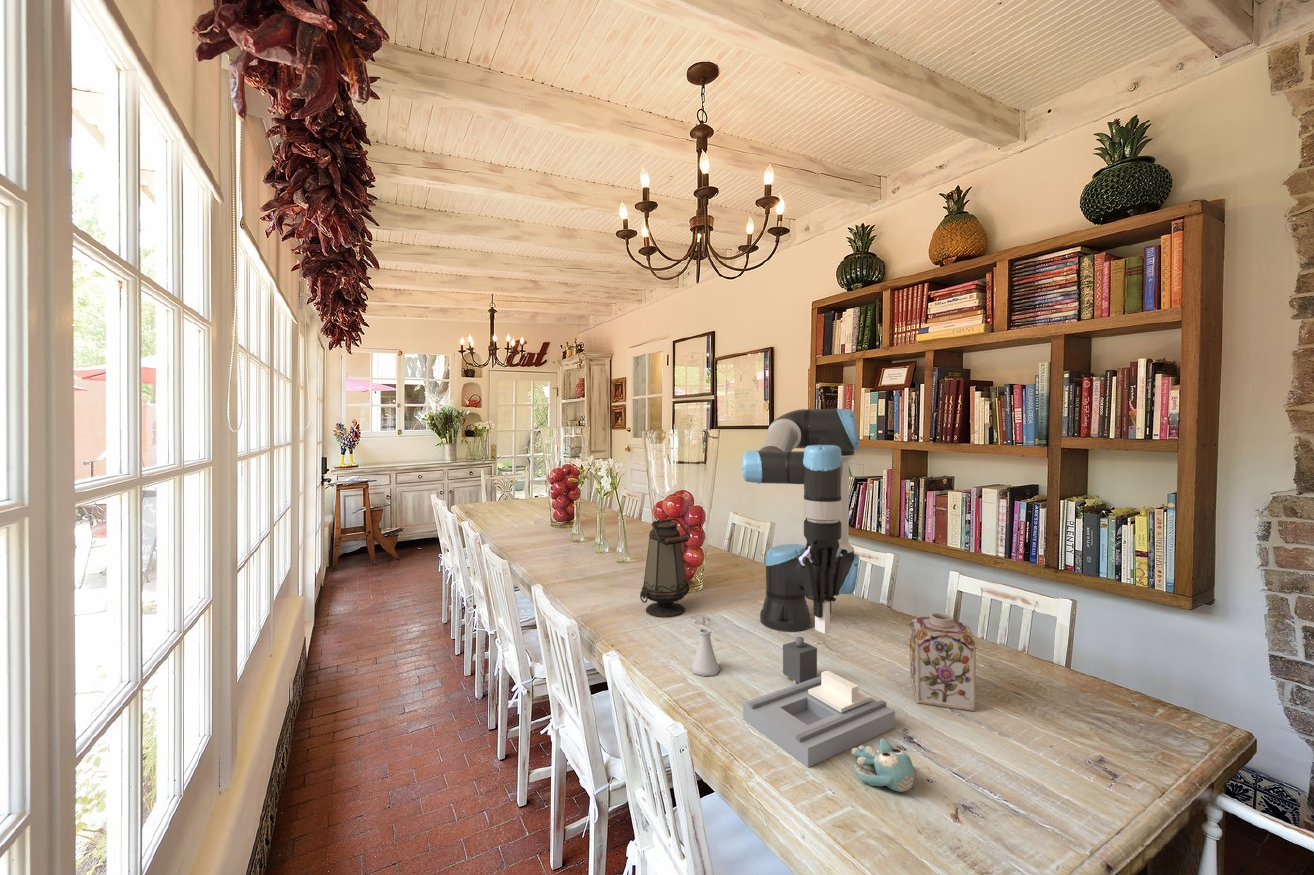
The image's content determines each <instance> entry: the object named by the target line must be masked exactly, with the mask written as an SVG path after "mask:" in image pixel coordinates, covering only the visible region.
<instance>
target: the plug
mask: <svg viewBox="0 0 1314 875" xmlns="http://www.w3.org/2000/svg"><path fill="white" fill-rule="evenodd" d="M782 674H783V675H784V676H786V677H788V678H790V679H791V680H792V683H794V684H799V683H801V682H804V681H807V680H810V679H813V678H816V677H818V648H817V647H816V646H814V645H812V644H809V643H807V642H805V638H804V637H803V636H796V637H795V641H791V642H788V643H784V644H782Z"/></svg>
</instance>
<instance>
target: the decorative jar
mask: <svg viewBox="0 0 1314 875" xmlns="http://www.w3.org/2000/svg"><path fill="white" fill-rule="evenodd" d="M909 627H910V628H909V677H910V678H909V679H910V682H911V687H912V690H913V695H914V699H915V702H916V704H921V705H926V706H927V705H929V706H934V707H941V708H949V709H954V710H963V711H969V712H974V711H975V710H976V700H977V699H976V698H977V697H976V693H977V690H976V689H977V658H976V656H977V653H976V650H977V647H976V642H975V639H974V635H973V632H972V630H971V628H970V627H969V626H968V624H966V623H963V622H961V621H958V620H955V618H954V616H953V615H951V614H948V613H947V612H940V611H939V612H931V613H930V615H927V616H921V617H919V616H918V617H917V618H913V619H911V622H910V624H909Z"/></svg>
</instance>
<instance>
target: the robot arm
mask: <svg viewBox="0 0 1314 875" xmlns="http://www.w3.org/2000/svg"><path fill="white" fill-rule="evenodd" d="M857 424H858V423H857V419H856V413H855V411H853V410H852V409H848V408H826V409H825V408H820V409H818V408H817V409H816V408H815V409H812V408H811V409H805V408H801V409H796V410H793V411H789V412H786V413H784V414H781V415H780V416H779V417H777V418H776V419H774V420H773V421H772V422H771V424H770V425H769V426H768V429H767V432H766V438H765V440H764V441H763V444H762V445H761V447H760V448H759V450H757V449H754V450H746V451H745V452H744V453H743V456H742V462H741V472H742V473H741V474H742V478H743V480H744V481H745V482H746V483H754V484H756V483H757V484H775V485H777V484H783V485H803V517H804V518H805V519H804V521H803V537H804V538H805V540H806V545H803V544H798V543H786V544H779V545H775V546H773V547H770V548H769V549H768V550H767V551H766V557H765V597H764V601H763V605H762V609H761V610H760V613H759V614H760V615H759V616H760V618H759V619H760V623H761V624H762V625H763V626H765V627H767V628H769V629H772V630H777V631H780V632H781V631H782V632H799V631H800V632H801V631H804V630H807V629H809V628H810V627H811V626H812V615H811V613H810V610H809V606H808V603H807V599H808V600H811V601H812V602H813V609H812V610H813V616H814V630H815V631H817V632H819V633H821V634H823V635H824V634H825V635H826V634H829V633H831V614H832V602H833V603H835V602H836V600H837V598H836V597H838V596H839V595H852V594H853V593H854V592H855V590H856V586H857V580H858V574H859V564H860V555H859V554H857V553H855V548H854V546H853V545H852V544H851V543H850V541H849V539H850V538H849V537H850V536H849V527H850V526H849V521H850V520H849V514H850V513H849V511H850V510H849V507H850V506H849V498H850V495H849V492H850V491H849V490H850V489H849V488H850V486H849V484H850V482H849V478H850V471H849V468H850V466H849V465H850V464H849V463H850V460H852V458H854V456H855V451H856V450H859V449H860V442H859V441H860V440H859V433H858V432H859V431H858V426H857ZM794 449H803V451H800V450H799V451H798V450H797V451H794ZM835 596H836V597H835Z"/></svg>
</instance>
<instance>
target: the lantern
mask: <svg viewBox="0 0 1314 875" xmlns="http://www.w3.org/2000/svg"><path fill="white" fill-rule="evenodd" d="M678 524H679V525H680V527H681V528H682V529H683V531H684V532H685V533H686V535H682V536H681V533H680V531H679V530H678V529H677V526H679V525H678ZM651 527H652V529H651V530H649V534H648V537H649V540H648V546H647V554H646V555H647V556H646V562H645V571H644V578H643V579H644V580H643V585H642V587H641V591H640V595H639V597H640V600H641V602H642V603H643V604H646V603H647V602H648V600H650V601H652V602H654V603H651V604H649V605H648V606H647V607H646V608H645V612H646V614H647V615H649V616H652V617H655V618H663V619H664V618H665V619H666V618H675V617H679V616H681V615H683V614H685V612H686V608H685V607H684V605H682V604H681V603H677V602H678V601H681V600H682V599H684V598H685V596H687V595H688V593H689V591H690V586H689V583H688V582H687V577H686V571H685V562H684V556H683V549H682V543H685V542H686V543H688V542H689V539H691V534H690V533H689V531H688V530H687V529H686V527H685V526H684V525H683V523H682V521H681V520H680V519H678V518H675V517H674V518H670V517H669V518H666V519H658V520H655V521H652V523H651Z"/></svg>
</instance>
